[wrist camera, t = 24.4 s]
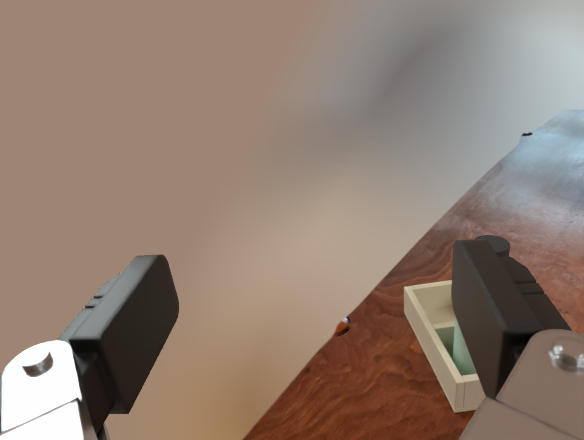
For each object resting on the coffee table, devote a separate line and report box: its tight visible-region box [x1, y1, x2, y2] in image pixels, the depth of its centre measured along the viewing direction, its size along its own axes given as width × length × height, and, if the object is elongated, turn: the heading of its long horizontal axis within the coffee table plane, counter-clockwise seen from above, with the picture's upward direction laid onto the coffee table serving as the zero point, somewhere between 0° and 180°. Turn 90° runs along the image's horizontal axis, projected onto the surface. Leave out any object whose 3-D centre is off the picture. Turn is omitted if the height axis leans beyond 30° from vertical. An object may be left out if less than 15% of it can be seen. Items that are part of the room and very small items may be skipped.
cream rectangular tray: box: [404, 280, 486, 413], centre depth 48 cm, size 8×16×4 cm, turn 4°
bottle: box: [453, 235, 510, 376], centre depth 42 cm, size 5×5×15 cm
